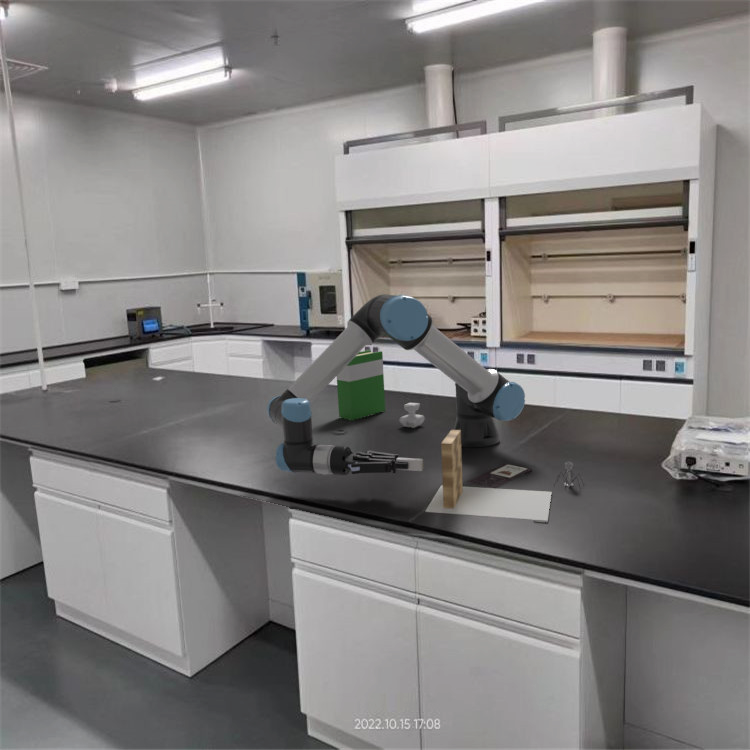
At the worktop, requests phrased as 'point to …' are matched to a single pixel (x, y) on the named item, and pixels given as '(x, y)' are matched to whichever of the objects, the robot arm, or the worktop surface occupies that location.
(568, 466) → the bacteriophage
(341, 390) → the hardback book
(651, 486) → the worktop surface
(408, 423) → the stamp
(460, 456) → the plaque
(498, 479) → the chocolate bar
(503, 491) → the mat
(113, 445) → the worktop surface
